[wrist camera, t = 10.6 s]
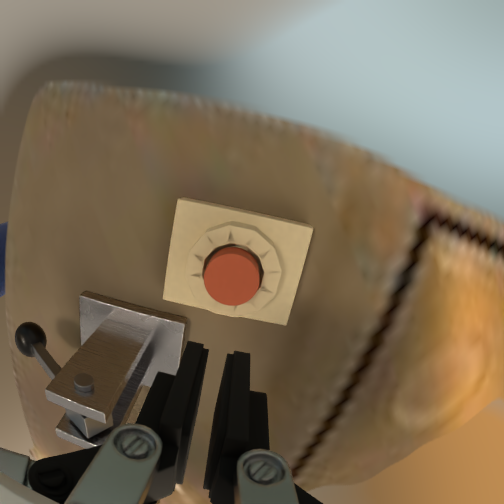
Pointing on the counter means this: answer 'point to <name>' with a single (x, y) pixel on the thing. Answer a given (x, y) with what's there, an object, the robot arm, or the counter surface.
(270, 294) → the control block
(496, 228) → the counter surface
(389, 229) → the counter surface
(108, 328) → the bracket
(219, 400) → the robot arm
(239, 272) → the button
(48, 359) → the lever
